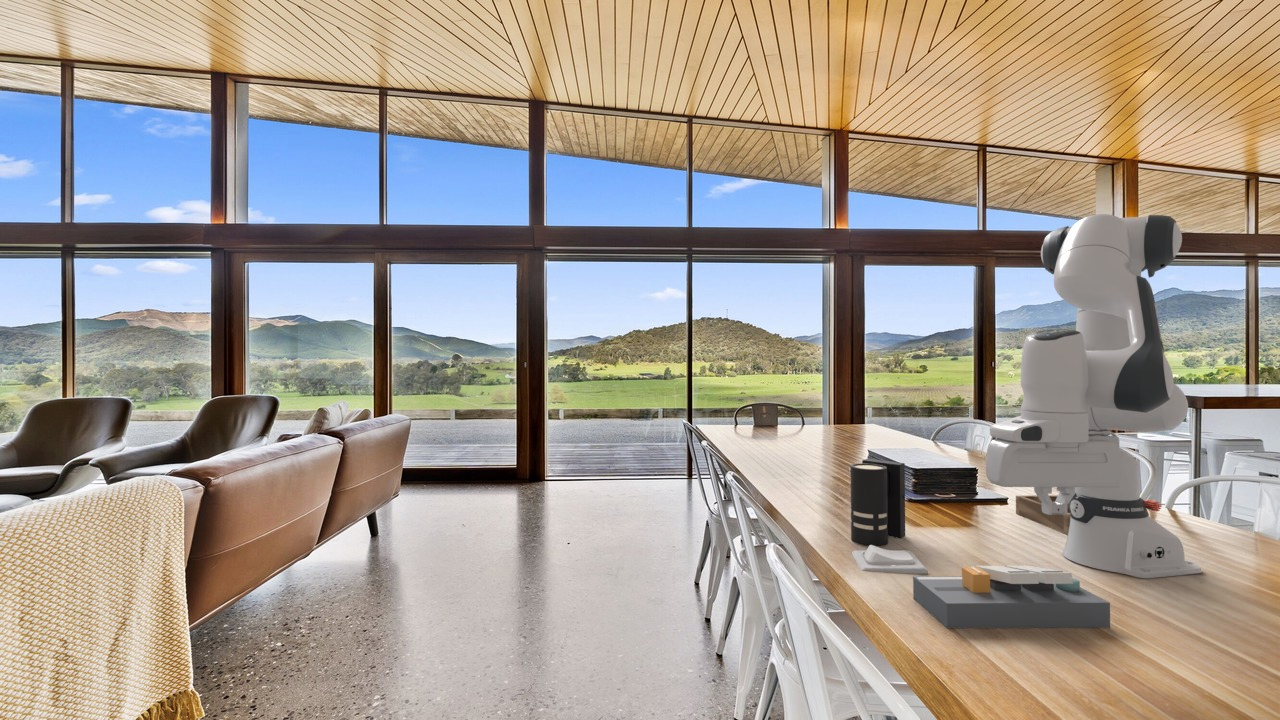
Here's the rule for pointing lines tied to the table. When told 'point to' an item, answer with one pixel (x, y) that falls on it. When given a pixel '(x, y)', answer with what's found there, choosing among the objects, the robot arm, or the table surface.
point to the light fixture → (877, 502)
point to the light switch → (888, 561)
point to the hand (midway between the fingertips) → (1054, 513)
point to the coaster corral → (1033, 511)
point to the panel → (1009, 605)
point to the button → (1070, 586)
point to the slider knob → (976, 580)
